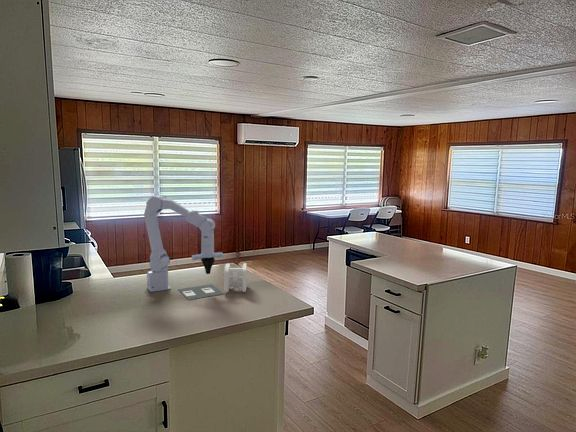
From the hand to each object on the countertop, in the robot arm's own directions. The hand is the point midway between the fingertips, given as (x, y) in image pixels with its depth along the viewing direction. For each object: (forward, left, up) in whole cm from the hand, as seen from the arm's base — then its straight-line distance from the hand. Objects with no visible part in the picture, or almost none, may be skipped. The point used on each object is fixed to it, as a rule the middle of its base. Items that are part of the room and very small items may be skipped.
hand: (207, 273), depth 184 cm
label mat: (-4, 0, -8) cm, 9 cm away
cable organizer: (+12, -5, -8) cm, 15 cm away
